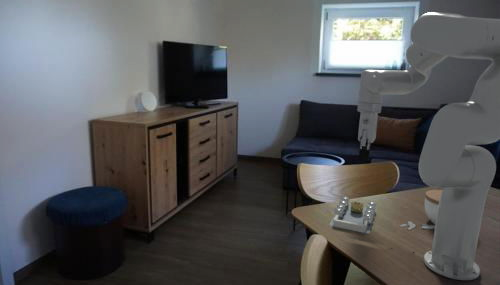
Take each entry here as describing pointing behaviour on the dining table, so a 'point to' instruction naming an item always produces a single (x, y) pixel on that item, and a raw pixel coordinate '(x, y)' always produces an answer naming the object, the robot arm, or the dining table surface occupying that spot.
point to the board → (352, 221)
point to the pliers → (415, 225)
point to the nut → (357, 207)
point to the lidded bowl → (432, 204)
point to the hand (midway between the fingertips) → (363, 159)
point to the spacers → (345, 203)
